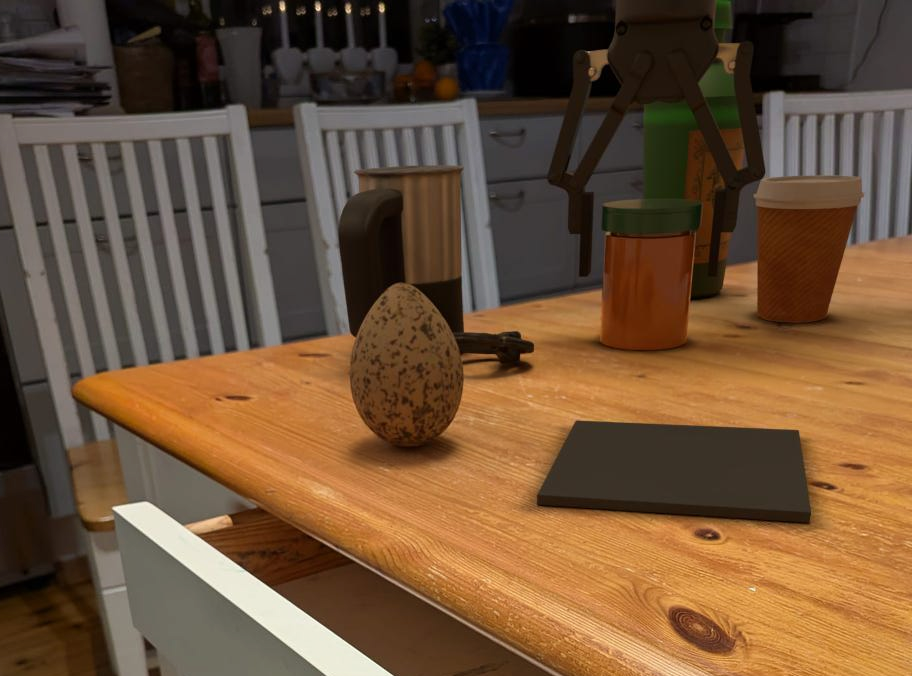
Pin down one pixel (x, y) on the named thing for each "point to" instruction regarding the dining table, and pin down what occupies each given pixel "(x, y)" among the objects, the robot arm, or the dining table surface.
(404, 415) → the decorative egg
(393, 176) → the milk frother
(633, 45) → the robot arm
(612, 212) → the jar lid
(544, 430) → the dining table surface
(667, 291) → the jam jar
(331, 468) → the dining table surface
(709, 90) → the bottle
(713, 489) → the mat
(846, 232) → the disposable coffee cup
